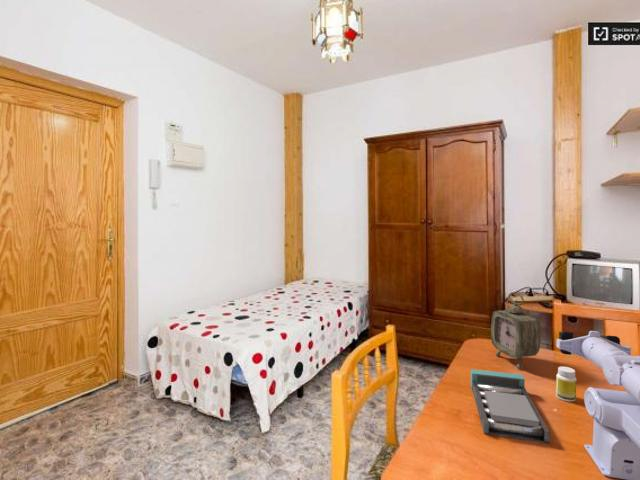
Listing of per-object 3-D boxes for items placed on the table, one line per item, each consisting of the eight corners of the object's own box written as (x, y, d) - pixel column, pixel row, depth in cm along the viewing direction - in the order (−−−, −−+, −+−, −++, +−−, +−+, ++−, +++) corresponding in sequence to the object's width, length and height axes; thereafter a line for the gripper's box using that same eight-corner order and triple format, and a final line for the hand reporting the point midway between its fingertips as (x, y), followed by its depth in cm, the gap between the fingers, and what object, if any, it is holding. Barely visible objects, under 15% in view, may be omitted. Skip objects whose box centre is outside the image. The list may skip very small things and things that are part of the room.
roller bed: (549, 443, 81) (549, 432, 81) (483, 433, 85) (484, 422, 85) (523, 395, 102) (524, 386, 102) (472, 389, 106) (472, 380, 106)
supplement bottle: (579, 402, 98) (580, 373, 97) (560, 401, 99) (561, 372, 98) (570, 394, 102) (571, 366, 102) (552, 392, 103) (553, 365, 103)
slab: (538, 427, 82) (539, 421, 82) (492, 420, 85) (492, 414, 85) (525, 400, 94) (525, 395, 93) (484, 395, 96) (484, 390, 96)
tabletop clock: (490, 354, 131) (491, 288, 129) (511, 352, 133) (513, 287, 131) (518, 371, 117) (521, 298, 115) (542, 369, 119) (545, 296, 117)
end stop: (524, 396, 101) (525, 379, 101) (472, 390, 105) (472, 374, 105) (521, 390, 105) (522, 374, 104) (470, 384, 109) (471, 369, 108)
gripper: (643, 340, 77) (610, 324, 90) (567, 333, 81) (546, 319, 94) (642, 372, 77) (609, 351, 90) (566, 364, 81) (545, 345, 94)
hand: (577, 337), depth 92 cm, fingers open, 7 cm apart
